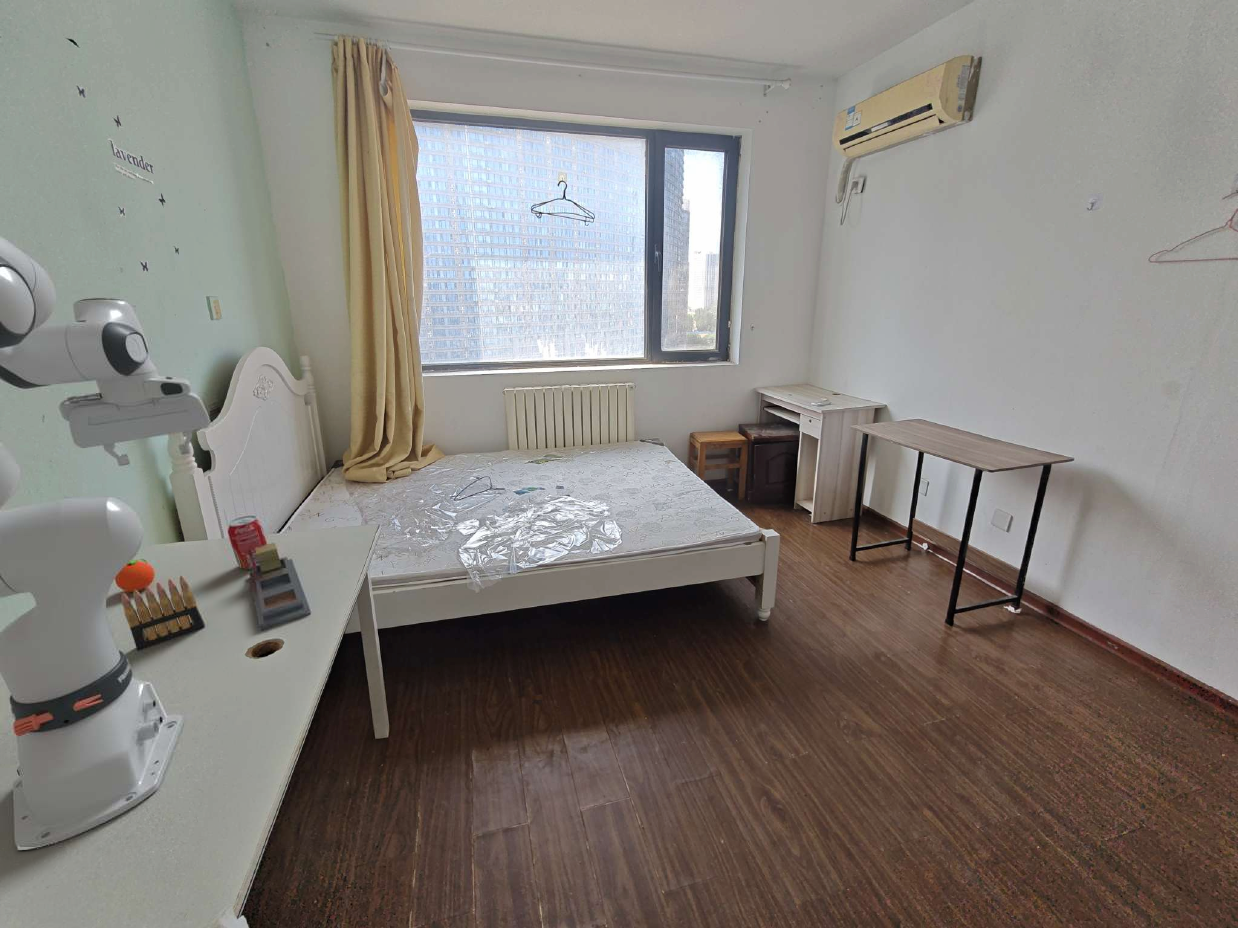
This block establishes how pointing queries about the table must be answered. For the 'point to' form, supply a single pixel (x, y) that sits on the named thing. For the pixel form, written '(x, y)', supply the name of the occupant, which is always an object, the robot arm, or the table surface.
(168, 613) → the ammunition clip
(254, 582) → the slotted tray
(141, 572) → the clementine
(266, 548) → the tan rectangular block
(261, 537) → the soda can
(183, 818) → the table surface
